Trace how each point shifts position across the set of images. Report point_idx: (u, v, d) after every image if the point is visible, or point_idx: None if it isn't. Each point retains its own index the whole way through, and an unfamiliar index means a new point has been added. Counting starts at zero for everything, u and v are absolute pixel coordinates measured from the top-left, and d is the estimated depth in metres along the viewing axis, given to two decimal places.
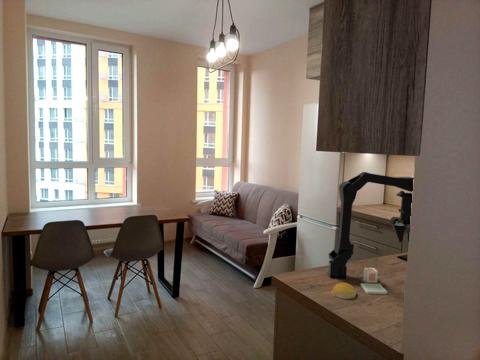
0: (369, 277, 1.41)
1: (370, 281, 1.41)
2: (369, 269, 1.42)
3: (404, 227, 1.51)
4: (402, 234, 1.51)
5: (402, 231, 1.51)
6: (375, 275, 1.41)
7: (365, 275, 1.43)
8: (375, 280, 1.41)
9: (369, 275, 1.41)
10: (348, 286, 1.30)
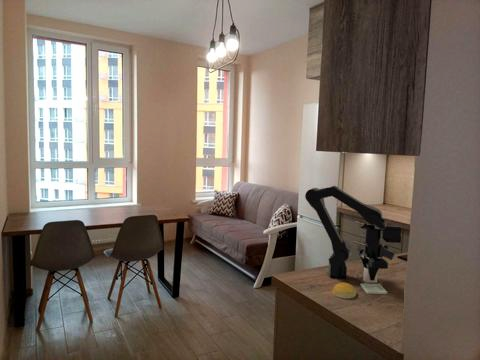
0: (369, 277, 1.41)
1: (370, 281, 1.41)
2: None
3: None
4: None
5: None
6: None
7: (365, 275, 1.43)
8: (375, 280, 1.41)
9: None
10: (348, 286, 1.30)
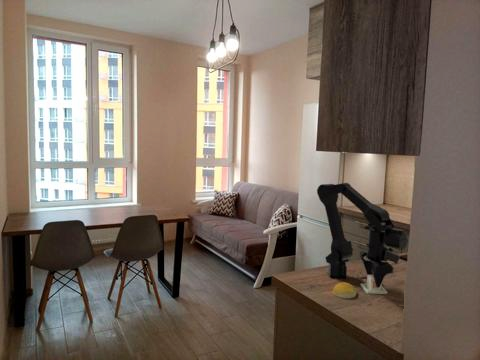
0: (373, 284, 1.33)
1: (374, 289, 1.33)
2: None
3: (374, 262, 1.39)
4: (372, 270, 1.39)
5: (372, 267, 1.39)
6: None
7: (368, 283, 1.35)
8: (379, 288, 1.33)
9: (373, 283, 1.33)
10: (348, 286, 1.31)
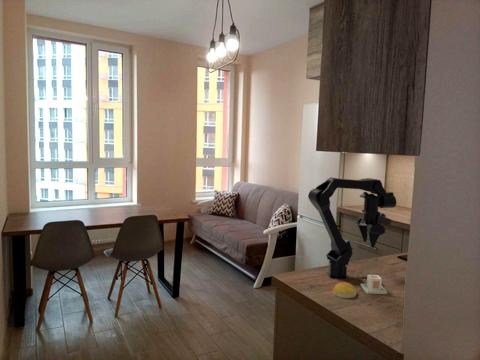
0: (373, 284, 1.33)
1: (374, 289, 1.33)
2: (373, 276, 1.34)
3: None
4: (366, 234, 1.55)
5: (366, 231, 1.56)
6: (379, 283, 1.33)
7: (368, 283, 1.35)
8: (379, 288, 1.33)
9: (373, 283, 1.33)
10: (348, 286, 1.31)
